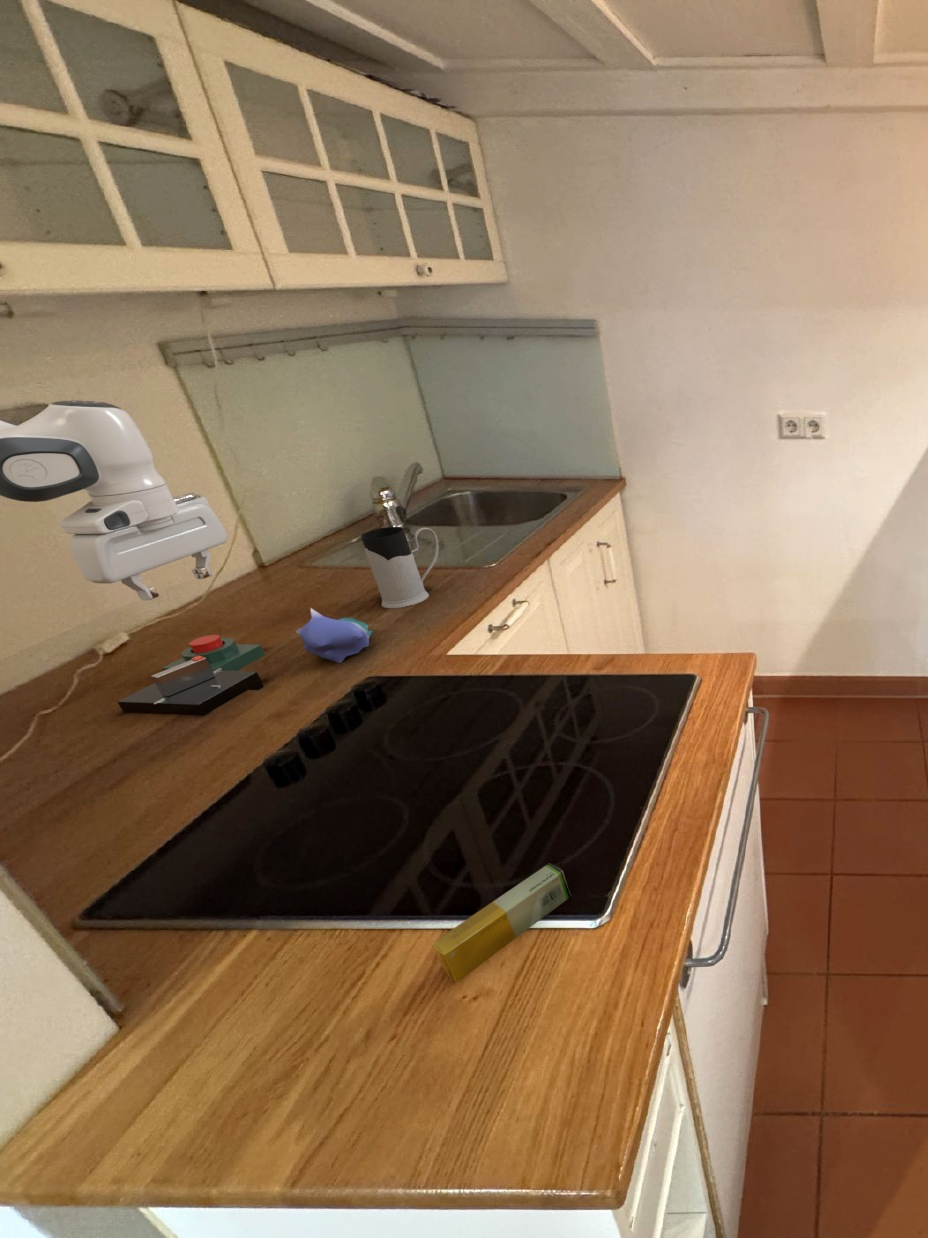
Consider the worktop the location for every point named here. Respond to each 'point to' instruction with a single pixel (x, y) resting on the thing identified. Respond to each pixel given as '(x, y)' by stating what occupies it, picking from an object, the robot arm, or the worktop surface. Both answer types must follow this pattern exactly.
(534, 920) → the medication box
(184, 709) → the base
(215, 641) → the button
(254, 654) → the green control housing
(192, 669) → the grey switch lever
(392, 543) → the glass holder
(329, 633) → the figurine
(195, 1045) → the worktop surface
